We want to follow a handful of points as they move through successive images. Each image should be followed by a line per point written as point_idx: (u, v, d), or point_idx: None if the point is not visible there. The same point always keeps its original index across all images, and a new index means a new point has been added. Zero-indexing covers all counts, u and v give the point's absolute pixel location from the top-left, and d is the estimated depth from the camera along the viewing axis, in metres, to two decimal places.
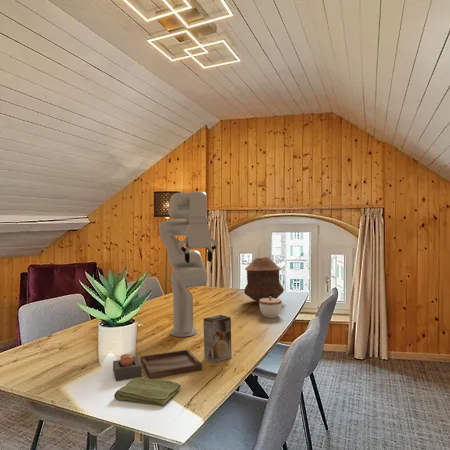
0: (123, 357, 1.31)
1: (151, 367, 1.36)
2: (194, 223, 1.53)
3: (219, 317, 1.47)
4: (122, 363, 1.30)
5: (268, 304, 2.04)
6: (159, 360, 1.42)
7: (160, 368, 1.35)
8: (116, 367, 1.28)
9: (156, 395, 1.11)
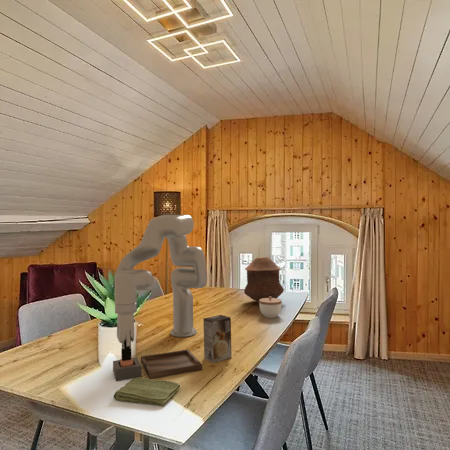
0: None
1: (151, 367, 1.36)
2: (135, 311, 1.31)
3: (219, 317, 1.47)
4: (122, 366, 1.30)
5: (268, 304, 2.04)
6: (159, 360, 1.42)
7: (160, 368, 1.35)
8: (116, 367, 1.28)
9: (156, 395, 1.11)
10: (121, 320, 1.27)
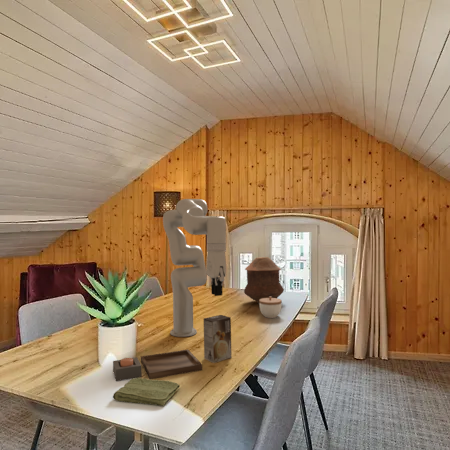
0: (123, 361, 1.31)
1: (151, 367, 1.36)
2: (225, 250, 1.45)
3: (219, 317, 1.47)
4: None
5: (268, 304, 2.04)
6: (159, 360, 1.42)
7: (160, 368, 1.35)
8: (116, 367, 1.28)
9: (155, 395, 1.11)
10: (215, 257, 1.41)
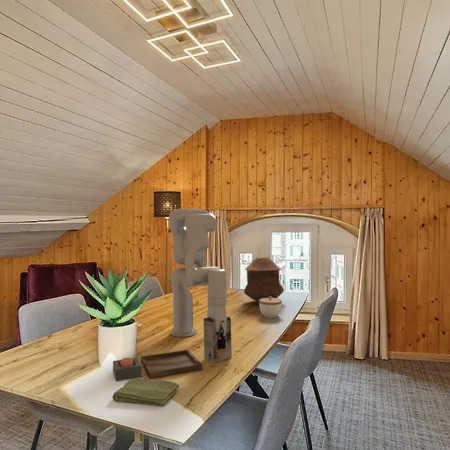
0: (123, 361, 1.31)
1: (151, 367, 1.36)
2: (226, 303, 1.45)
3: None
4: None
5: (268, 304, 2.04)
6: (159, 360, 1.42)
7: (160, 368, 1.35)
8: (116, 367, 1.28)
9: (155, 395, 1.11)
10: (216, 311, 1.42)
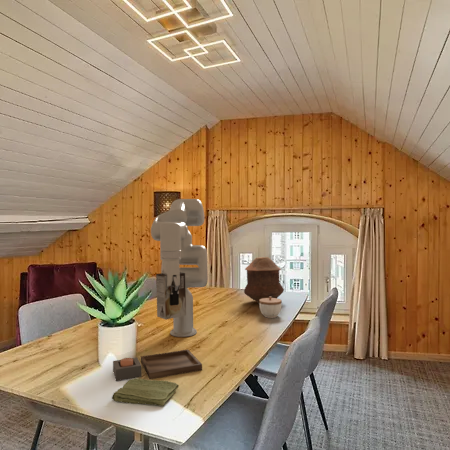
0: (123, 361, 1.31)
1: (151, 367, 1.36)
2: (179, 258, 1.38)
3: None
4: None
5: (268, 304, 2.04)
6: (159, 360, 1.42)
7: (160, 368, 1.35)
8: (116, 367, 1.28)
9: (155, 395, 1.11)
10: (168, 265, 1.34)
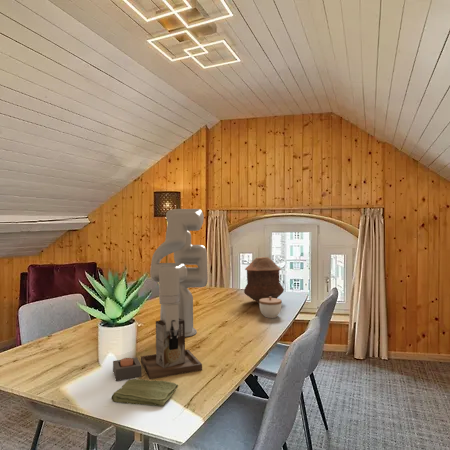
0: (123, 361, 1.31)
1: (151, 367, 1.36)
2: (178, 302, 1.38)
3: None
4: None
5: (268, 304, 2.04)
6: None
7: (160, 368, 1.35)
8: (116, 367, 1.28)
9: (155, 396, 1.11)
10: (167, 310, 1.34)
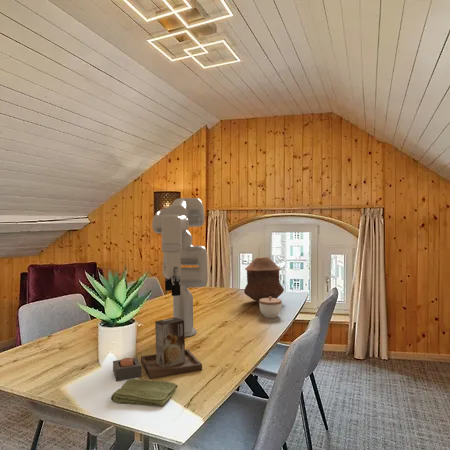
0: (123, 361, 1.31)
1: (151, 367, 1.36)
2: (180, 250, 1.40)
3: (172, 320, 1.40)
4: None
5: (268, 304, 2.04)
6: None
7: (160, 368, 1.35)
8: (116, 367, 1.28)
9: (155, 396, 1.11)
10: (169, 258, 1.37)
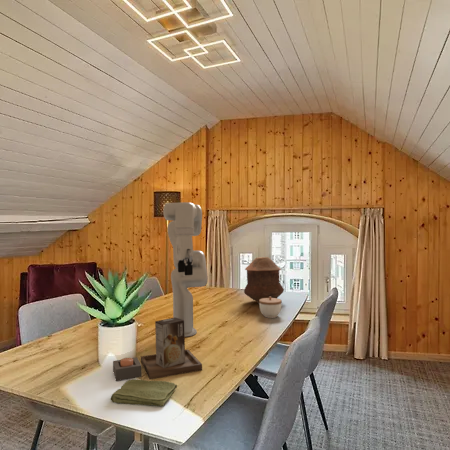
0: (123, 361, 1.31)
1: (151, 367, 1.36)
2: (192, 234, 1.53)
3: (172, 320, 1.40)
4: None
5: (268, 304, 2.04)
6: None
7: (160, 368, 1.35)
8: (116, 367, 1.28)
9: (154, 396, 1.11)
10: (182, 240, 1.50)
